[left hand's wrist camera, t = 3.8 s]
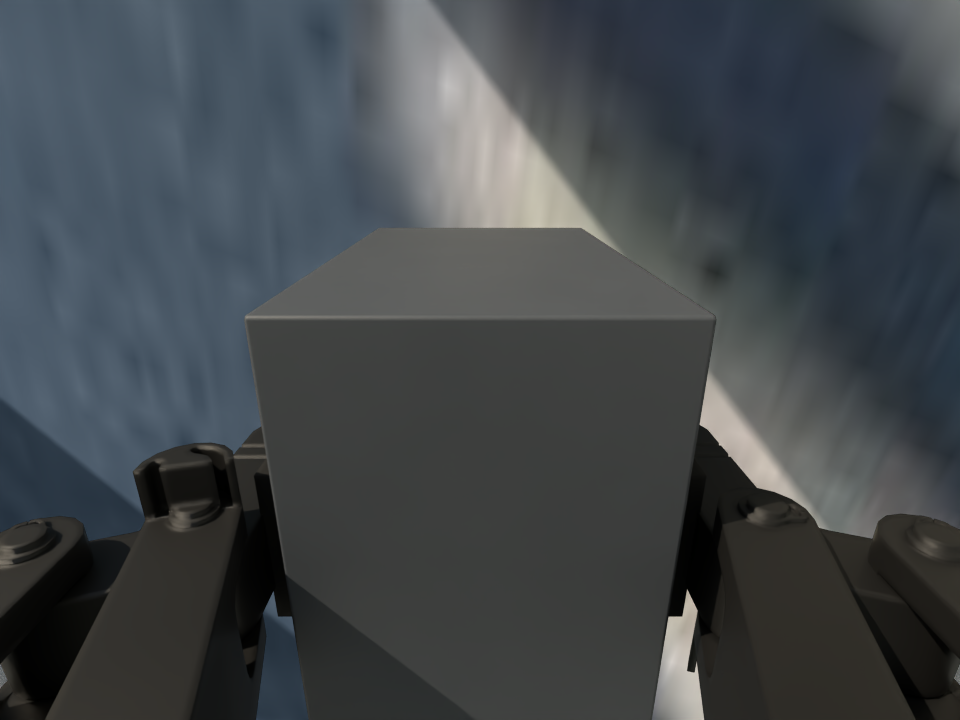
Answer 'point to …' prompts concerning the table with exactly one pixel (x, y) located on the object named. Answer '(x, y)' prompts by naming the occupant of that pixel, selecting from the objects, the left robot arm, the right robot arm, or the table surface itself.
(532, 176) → the table surface
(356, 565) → the bar
